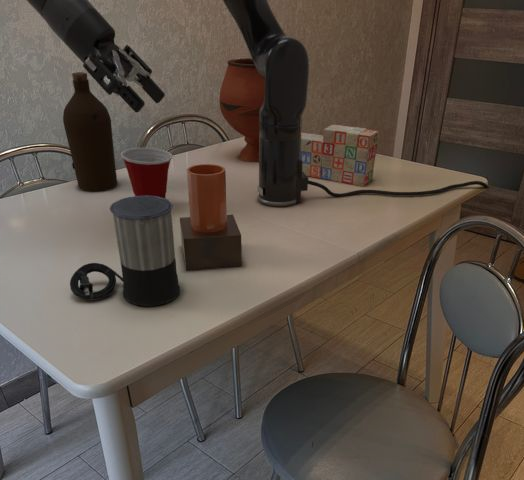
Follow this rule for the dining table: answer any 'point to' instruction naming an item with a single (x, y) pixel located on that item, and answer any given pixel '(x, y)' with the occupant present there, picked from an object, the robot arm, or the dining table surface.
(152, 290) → the milk frother
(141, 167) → the plastic cup
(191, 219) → the terracotta cup
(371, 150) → the stack of blocks
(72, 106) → the olive oil
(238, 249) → the walnut block
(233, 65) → the goblet
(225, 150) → the dining table surface
